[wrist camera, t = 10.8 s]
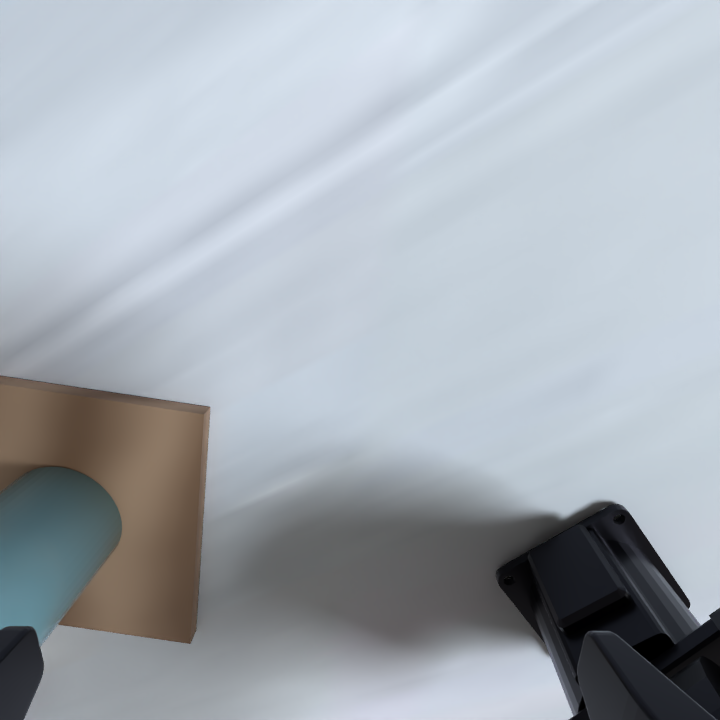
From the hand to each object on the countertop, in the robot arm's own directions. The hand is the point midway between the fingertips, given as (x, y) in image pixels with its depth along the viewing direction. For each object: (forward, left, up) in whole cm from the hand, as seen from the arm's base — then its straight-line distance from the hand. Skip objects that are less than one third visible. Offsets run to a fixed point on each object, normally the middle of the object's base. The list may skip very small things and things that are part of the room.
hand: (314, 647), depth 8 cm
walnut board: (+3, +14, -13) cm, 19 cm away
